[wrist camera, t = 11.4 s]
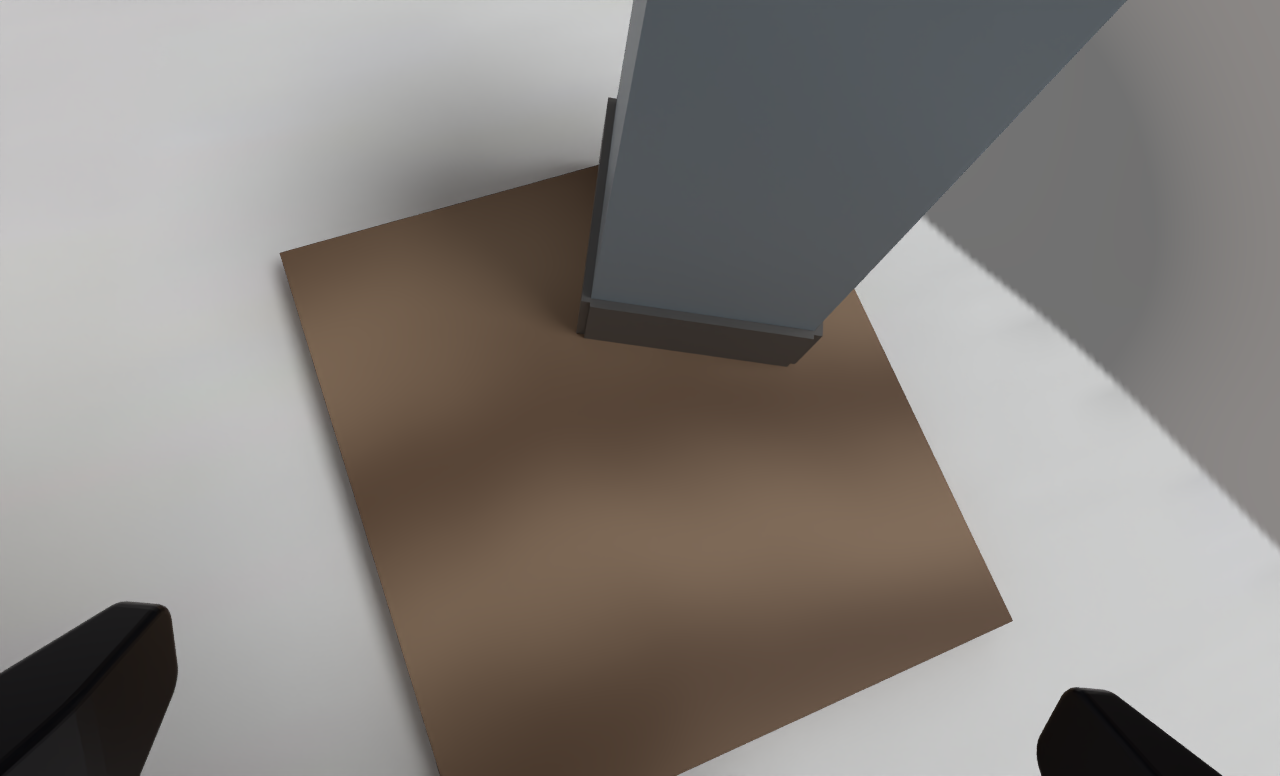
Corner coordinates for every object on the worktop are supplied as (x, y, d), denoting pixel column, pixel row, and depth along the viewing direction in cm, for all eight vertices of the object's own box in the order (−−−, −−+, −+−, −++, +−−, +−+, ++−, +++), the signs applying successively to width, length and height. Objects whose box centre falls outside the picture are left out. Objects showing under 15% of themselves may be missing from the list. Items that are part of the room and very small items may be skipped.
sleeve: (794, 367, 20) (1213, -50, 8) (575, 336, 20) (655, -160, 7) (804, 175, 22) (1164, -423, 9) (601, 141, 21) (703, -537, 9)
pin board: (990, 621, 20) (1133, 618, 15) (472, 857, 17) (452, 943, 12) (762, 138, 23) (822, 10, 18) (291, 270, 20) (218, 160, 16)
